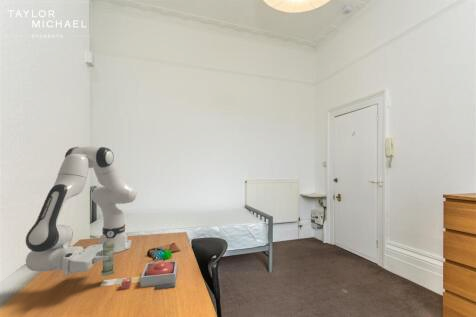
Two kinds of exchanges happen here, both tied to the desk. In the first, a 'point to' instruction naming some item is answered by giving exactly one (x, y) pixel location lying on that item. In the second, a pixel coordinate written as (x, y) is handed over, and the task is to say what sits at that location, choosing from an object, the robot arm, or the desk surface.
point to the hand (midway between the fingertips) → (110, 254)
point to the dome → (160, 268)
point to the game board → (147, 279)
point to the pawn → (109, 264)
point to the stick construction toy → (162, 254)
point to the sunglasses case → (170, 247)
